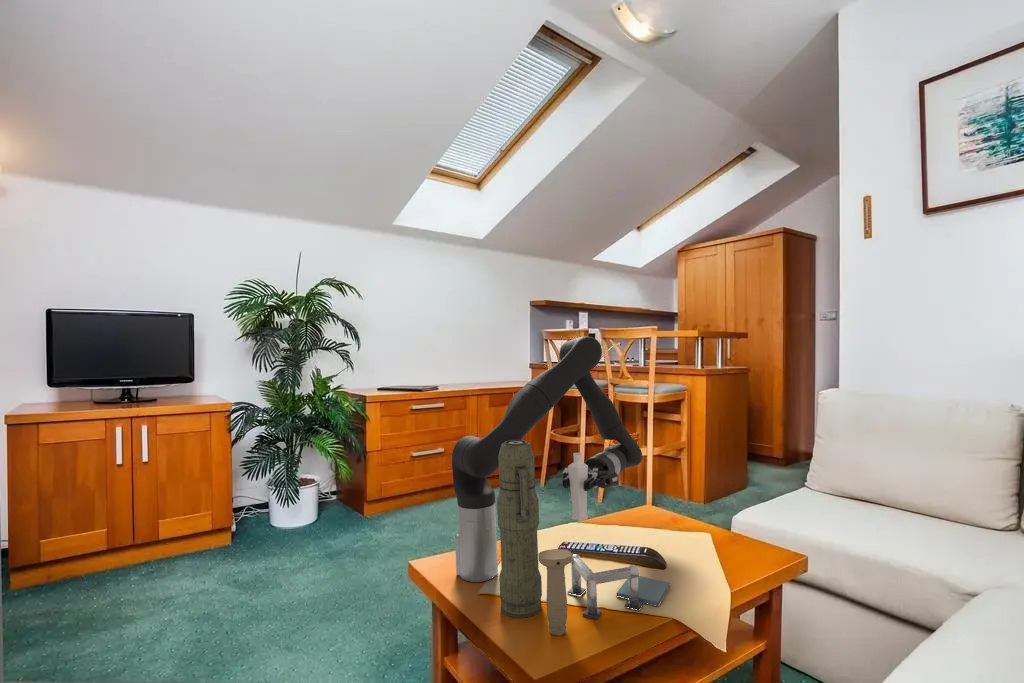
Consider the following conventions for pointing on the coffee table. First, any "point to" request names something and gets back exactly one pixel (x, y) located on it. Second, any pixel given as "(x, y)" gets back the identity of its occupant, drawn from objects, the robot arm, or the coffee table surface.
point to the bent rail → (602, 577)
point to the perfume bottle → (578, 487)
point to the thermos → (518, 531)
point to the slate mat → (647, 590)
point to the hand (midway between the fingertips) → (575, 485)
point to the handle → (556, 588)
